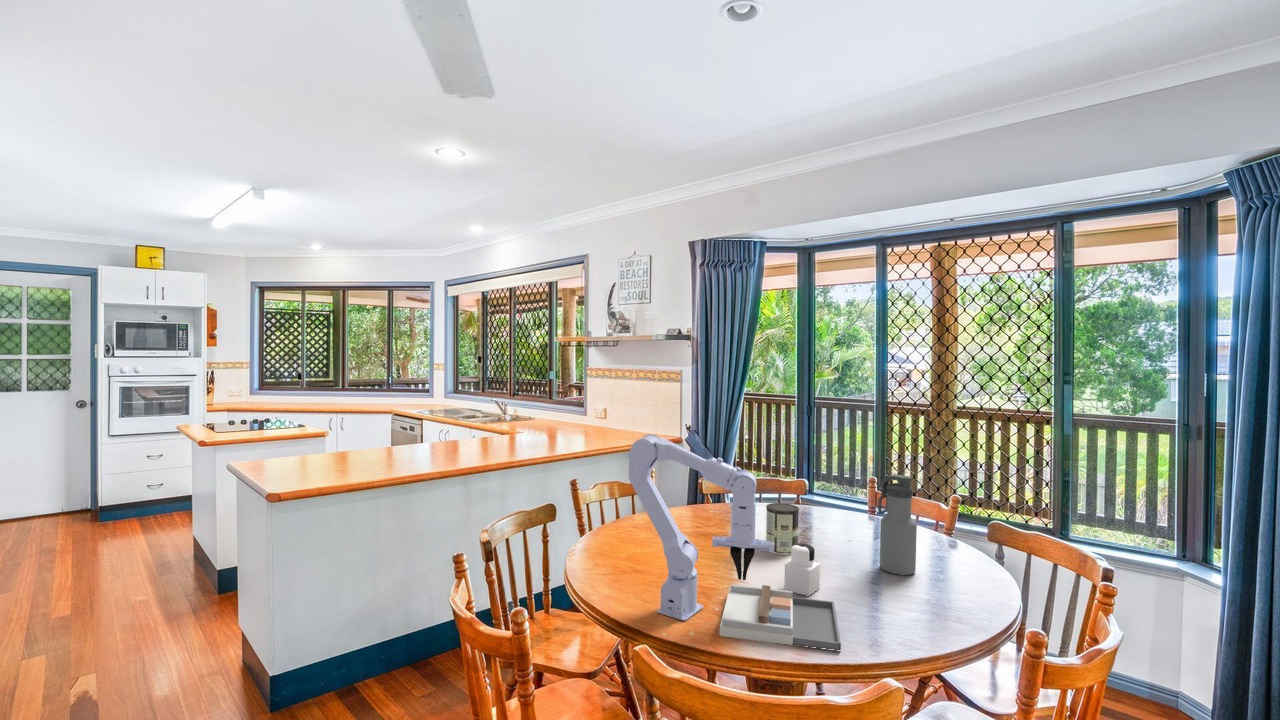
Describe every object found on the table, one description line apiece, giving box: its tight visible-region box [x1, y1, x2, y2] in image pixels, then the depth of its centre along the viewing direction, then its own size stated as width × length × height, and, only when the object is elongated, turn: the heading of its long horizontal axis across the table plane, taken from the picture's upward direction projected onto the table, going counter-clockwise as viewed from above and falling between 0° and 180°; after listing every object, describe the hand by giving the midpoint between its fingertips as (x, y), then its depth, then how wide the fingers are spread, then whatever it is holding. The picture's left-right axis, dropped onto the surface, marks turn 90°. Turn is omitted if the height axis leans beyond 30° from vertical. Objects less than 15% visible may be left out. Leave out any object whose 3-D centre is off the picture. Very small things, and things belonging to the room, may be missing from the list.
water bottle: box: [877, 473, 918, 576], centre depth 177 cm, size 10×10×28 cm
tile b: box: [770, 608, 791, 626], centre depth 139 cm, size 4×4×2 cm
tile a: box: [771, 596, 791, 611], centre depth 146 cm, size 4×4×2 cm
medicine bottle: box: [783, 542, 821, 597], centre depth 162 cm, size 7×7×12 cm
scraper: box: [759, 584, 771, 623], centre depth 143 cm, size 2×18×2 cm, turn 166°
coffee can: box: [765, 502, 800, 556], centre depth 193 cm, size 10×10×14 cm
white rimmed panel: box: [719, 583, 794, 646], centre depth 144 cm, size 16×22×4 cm
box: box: [793, 596, 842, 650], centre depth 140 cm, size 10×22×2 cm, turn 166°
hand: (742, 578), depth 144 cm, fingers closed
